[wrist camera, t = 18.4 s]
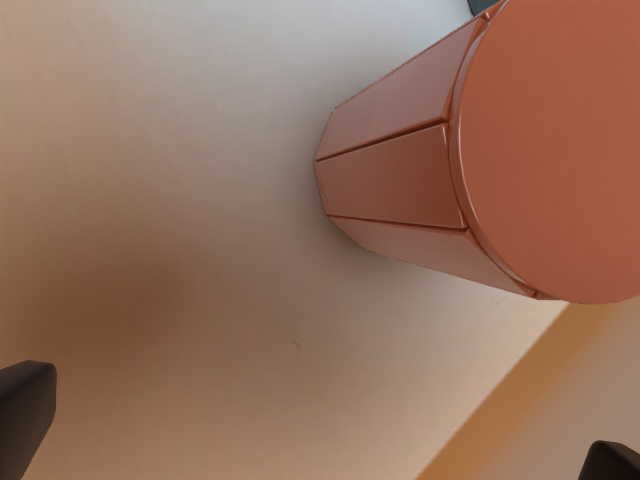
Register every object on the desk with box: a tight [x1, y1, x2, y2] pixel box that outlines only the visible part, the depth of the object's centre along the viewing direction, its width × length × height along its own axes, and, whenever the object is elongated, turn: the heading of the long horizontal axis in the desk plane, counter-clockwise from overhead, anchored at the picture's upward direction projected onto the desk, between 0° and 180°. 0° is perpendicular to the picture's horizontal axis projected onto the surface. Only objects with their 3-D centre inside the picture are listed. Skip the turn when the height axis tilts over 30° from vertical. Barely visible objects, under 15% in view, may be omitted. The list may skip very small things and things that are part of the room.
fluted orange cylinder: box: [313, 0, 640, 304], centre depth 15 cm, size 7×7×11 cm
